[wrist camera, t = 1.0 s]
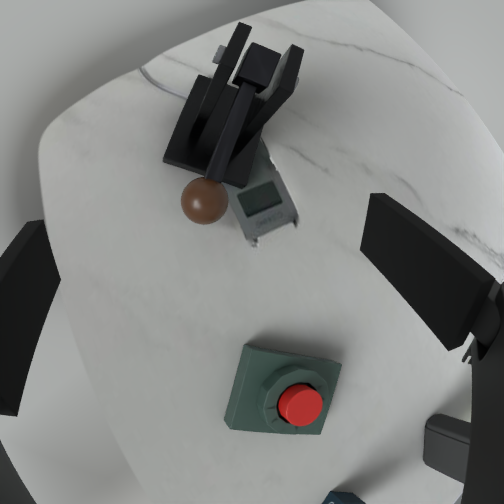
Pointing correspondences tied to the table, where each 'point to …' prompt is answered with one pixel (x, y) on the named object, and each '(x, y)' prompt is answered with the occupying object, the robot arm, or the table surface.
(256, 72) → the lever
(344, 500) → the watch
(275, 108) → the bracket
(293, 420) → the button
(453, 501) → the table surface
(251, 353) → the button block
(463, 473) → the dark grey upright slab
